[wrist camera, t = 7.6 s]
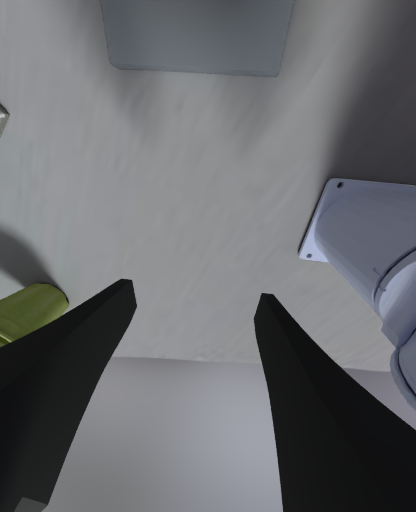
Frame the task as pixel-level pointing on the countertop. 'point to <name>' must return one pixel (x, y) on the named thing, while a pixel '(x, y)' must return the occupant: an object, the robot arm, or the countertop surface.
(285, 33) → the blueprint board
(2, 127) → the skyscraper
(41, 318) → the plant pot
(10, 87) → the countertop surface
